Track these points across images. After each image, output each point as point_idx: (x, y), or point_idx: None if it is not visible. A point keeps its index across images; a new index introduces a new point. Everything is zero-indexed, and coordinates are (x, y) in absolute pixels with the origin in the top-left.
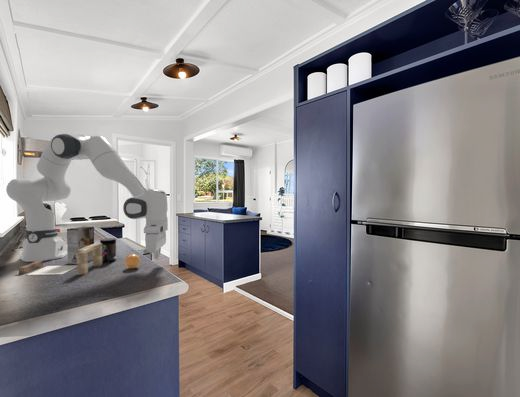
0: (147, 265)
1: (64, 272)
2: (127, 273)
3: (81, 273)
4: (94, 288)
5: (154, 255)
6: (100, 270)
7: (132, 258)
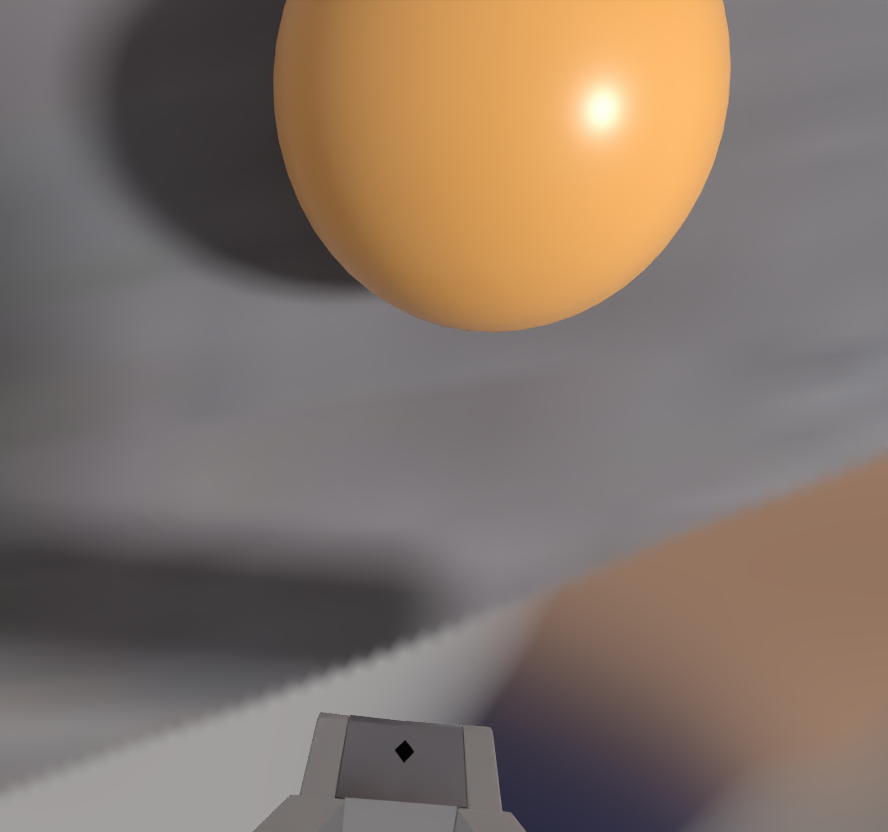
0: (640, 416)
1: None
2: (69, 110)
3: None
4: None
5: (304, 787)
6: None
7: (297, 128)
